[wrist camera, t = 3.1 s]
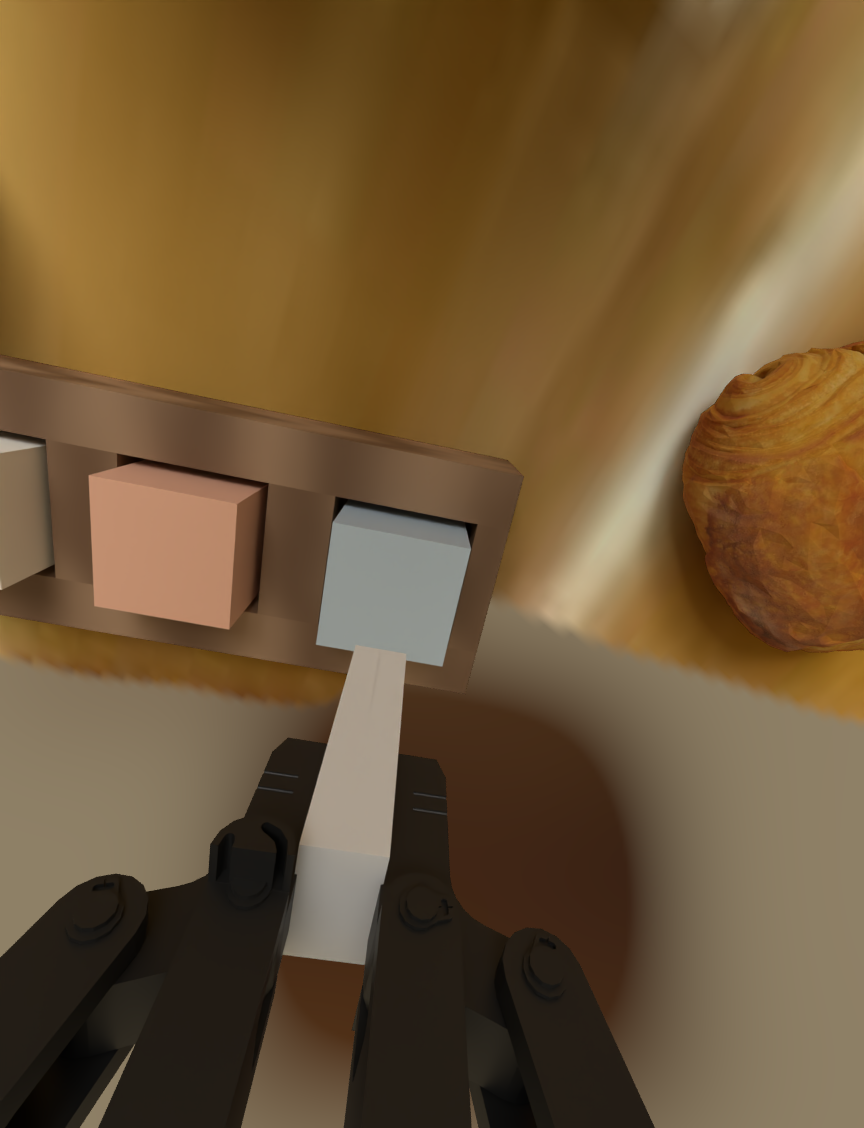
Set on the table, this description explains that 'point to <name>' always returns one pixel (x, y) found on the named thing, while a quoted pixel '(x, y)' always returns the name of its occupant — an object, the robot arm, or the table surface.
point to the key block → (293, 517)
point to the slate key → (392, 581)
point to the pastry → (786, 498)
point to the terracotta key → (176, 542)
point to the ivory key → (24, 508)
